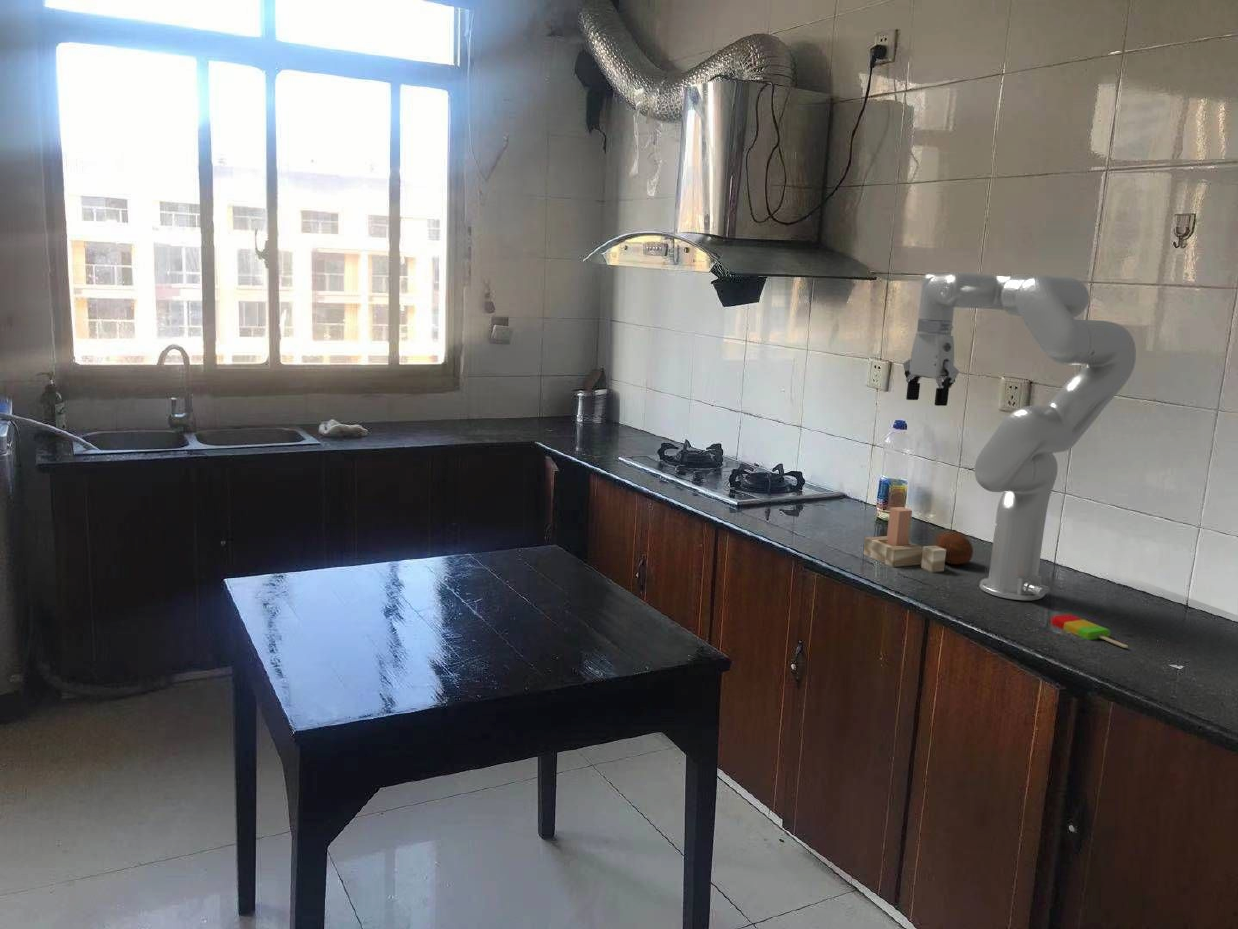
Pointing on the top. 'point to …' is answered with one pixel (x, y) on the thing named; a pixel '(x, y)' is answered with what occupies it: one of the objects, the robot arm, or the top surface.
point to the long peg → (899, 526)
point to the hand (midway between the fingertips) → (926, 402)
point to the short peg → (933, 558)
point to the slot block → (893, 552)
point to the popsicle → (1083, 628)
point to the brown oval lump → (955, 547)
